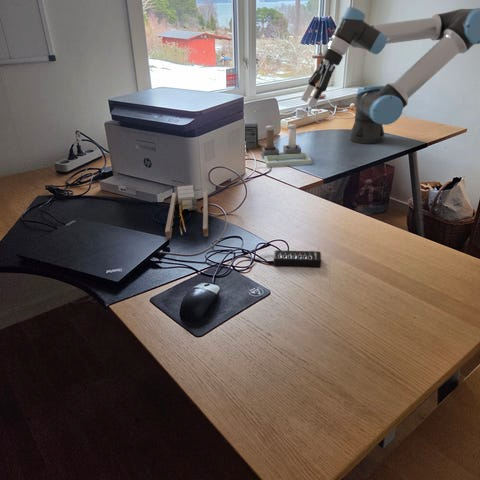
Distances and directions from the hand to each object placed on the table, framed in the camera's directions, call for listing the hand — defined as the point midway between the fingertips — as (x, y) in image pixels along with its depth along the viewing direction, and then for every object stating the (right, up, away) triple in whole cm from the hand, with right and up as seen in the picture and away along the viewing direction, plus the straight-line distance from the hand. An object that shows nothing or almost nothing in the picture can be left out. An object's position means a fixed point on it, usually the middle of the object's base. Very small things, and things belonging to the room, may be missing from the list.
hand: (306, 103), depth 169 cm
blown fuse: (-14, -20, +4) cm, 25 cm away
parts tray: (-8, -25, -3) cm, 26 cm away
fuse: (-5, -19, +5) cm, 21 cm away
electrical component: (-42, -48, -42) cm, 76 cm away
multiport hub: (-13, -60, -67) cm, 91 cm away
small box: (-24, -14, +19) cm, 34 cm away
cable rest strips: (-42, -47, -42) cm, 76 cm away
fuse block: (-10, -21, +5) cm, 23 cm away
